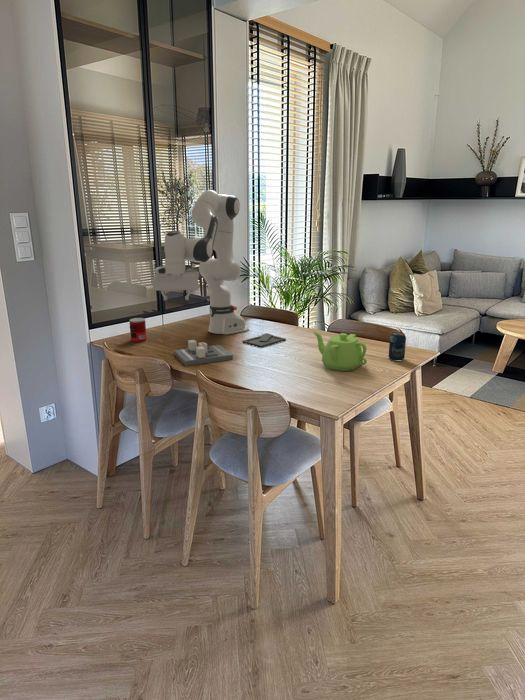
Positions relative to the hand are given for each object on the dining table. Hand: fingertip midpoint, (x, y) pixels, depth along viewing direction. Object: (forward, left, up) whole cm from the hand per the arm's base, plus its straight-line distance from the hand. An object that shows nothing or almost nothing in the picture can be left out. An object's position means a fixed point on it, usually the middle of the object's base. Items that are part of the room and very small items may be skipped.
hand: (176, 300), depth 218 cm
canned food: (+12, -34, -26) cm, 44 cm away
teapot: (-58, +44, -26) cm, 78 cm away
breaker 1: (-6, +1, -24) cm, 25 cm away
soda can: (-86, +48, -26) cm, 102 cm away
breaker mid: (-9, +7, -24) cm, 27 cm away
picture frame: (-45, -4, -27) cm, 53 cm away
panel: (-9, +7, -26) cm, 28 cm away
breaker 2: (-6, +13, -24) cm, 28 cm away
